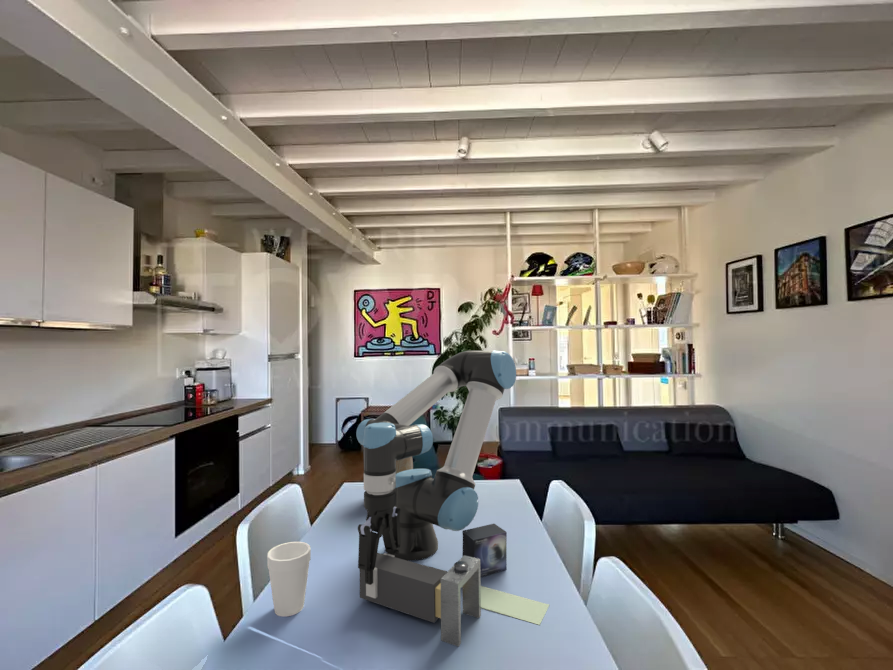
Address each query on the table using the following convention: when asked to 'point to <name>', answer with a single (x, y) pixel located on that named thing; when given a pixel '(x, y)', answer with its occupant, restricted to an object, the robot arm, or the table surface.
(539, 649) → the table surface
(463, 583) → the frame
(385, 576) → the plug
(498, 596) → the mat
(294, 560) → the foam cup
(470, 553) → the small box
